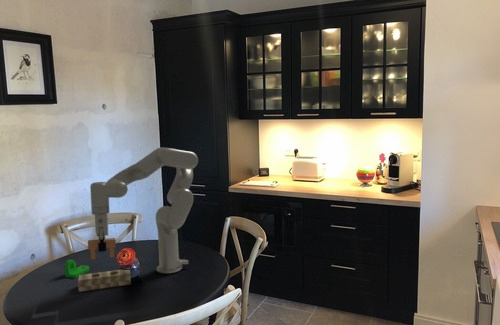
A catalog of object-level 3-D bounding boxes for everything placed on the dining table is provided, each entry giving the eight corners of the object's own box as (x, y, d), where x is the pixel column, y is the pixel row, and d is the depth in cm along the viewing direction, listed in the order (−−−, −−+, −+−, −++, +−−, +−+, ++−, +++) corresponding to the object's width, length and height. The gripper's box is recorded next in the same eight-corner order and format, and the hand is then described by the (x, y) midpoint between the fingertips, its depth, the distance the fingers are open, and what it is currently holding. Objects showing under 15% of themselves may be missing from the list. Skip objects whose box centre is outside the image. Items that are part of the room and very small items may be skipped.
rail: (130, 278, 195) (129, 268, 194) (131, 284, 188) (130, 273, 188) (80, 285, 188) (79, 275, 188) (78, 291, 181) (78, 280, 181)
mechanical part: (76, 279, 197) (74, 262, 196) (65, 278, 199) (64, 261, 198) (92, 270, 208) (90, 254, 208) (81, 269, 210) (80, 253, 209)
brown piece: (116, 254, 190) (115, 237, 189) (116, 256, 187) (115, 239, 186) (89, 257, 186) (88, 240, 185) (88, 259, 183) (87, 242, 183)
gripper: (109, 212, 178) (111, 254, 180) (109, 205, 193) (111, 244, 195) (90, 214, 176) (92, 256, 177) (92, 207, 191) (94, 246, 193)
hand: (102, 249), depth 186 cm, fingers closed on brown piece, 3 cm apart
